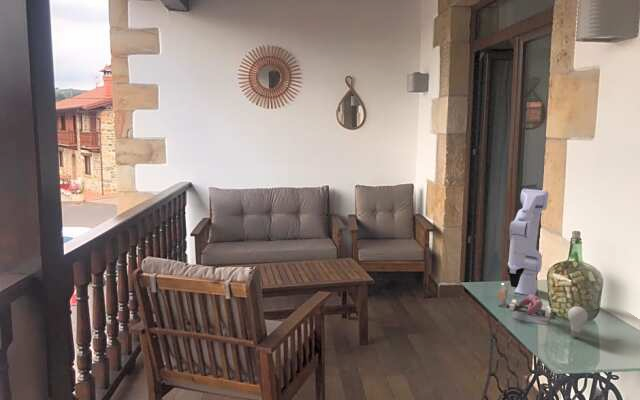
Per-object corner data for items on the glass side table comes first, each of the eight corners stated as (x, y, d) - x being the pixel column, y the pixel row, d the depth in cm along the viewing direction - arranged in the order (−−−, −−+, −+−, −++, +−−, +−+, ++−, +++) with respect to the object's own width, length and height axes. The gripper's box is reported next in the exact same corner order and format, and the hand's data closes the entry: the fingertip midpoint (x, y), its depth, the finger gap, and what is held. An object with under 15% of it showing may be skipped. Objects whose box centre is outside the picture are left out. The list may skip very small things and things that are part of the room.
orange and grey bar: (501, 286, 206) (501, 281, 205) (508, 287, 204) (509, 283, 204) (497, 297, 194) (497, 292, 194) (505, 298, 193) (505, 293, 193)
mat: (515, 311, 200) (515, 310, 200) (548, 317, 194) (549, 317, 194) (511, 318, 193) (511, 317, 193) (546, 325, 187) (546, 325, 187)
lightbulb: (583, 335, 180) (587, 305, 178) (586, 342, 174) (590, 311, 172) (564, 332, 182) (567, 302, 180) (566, 339, 176) (569, 308, 174)
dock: (500, 301, 209) (502, 286, 208) (551, 311, 200) (552, 295, 199) (497, 307, 203) (498, 291, 202) (549, 317, 194) (551, 300, 193)
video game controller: (536, 319, 196) (547, 303, 195) (526, 313, 195) (536, 298, 194) (527, 309, 205) (536, 294, 204) (517, 304, 205) (526, 289, 204)
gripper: (525, 258, 187) (522, 294, 190) (531, 249, 200) (528, 283, 202) (505, 255, 191) (502, 290, 193) (512, 246, 203) (509, 279, 206)
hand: (514, 286), depth 198 cm, fingers closed
